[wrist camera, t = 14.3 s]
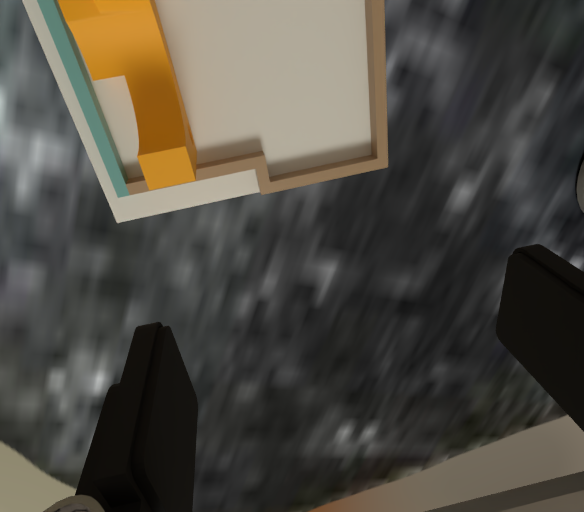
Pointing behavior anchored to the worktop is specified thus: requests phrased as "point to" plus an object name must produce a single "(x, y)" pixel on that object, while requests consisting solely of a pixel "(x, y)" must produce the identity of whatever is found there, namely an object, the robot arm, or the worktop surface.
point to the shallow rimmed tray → (238, 97)
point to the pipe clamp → (139, 80)
